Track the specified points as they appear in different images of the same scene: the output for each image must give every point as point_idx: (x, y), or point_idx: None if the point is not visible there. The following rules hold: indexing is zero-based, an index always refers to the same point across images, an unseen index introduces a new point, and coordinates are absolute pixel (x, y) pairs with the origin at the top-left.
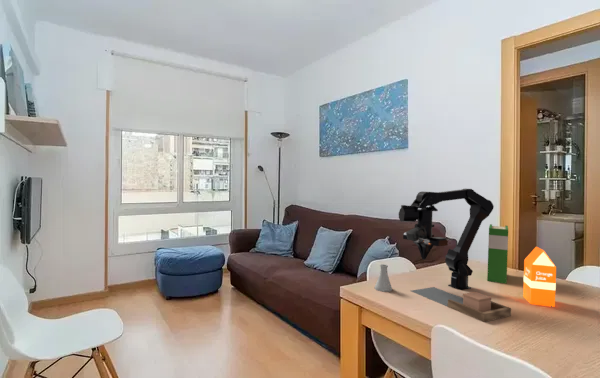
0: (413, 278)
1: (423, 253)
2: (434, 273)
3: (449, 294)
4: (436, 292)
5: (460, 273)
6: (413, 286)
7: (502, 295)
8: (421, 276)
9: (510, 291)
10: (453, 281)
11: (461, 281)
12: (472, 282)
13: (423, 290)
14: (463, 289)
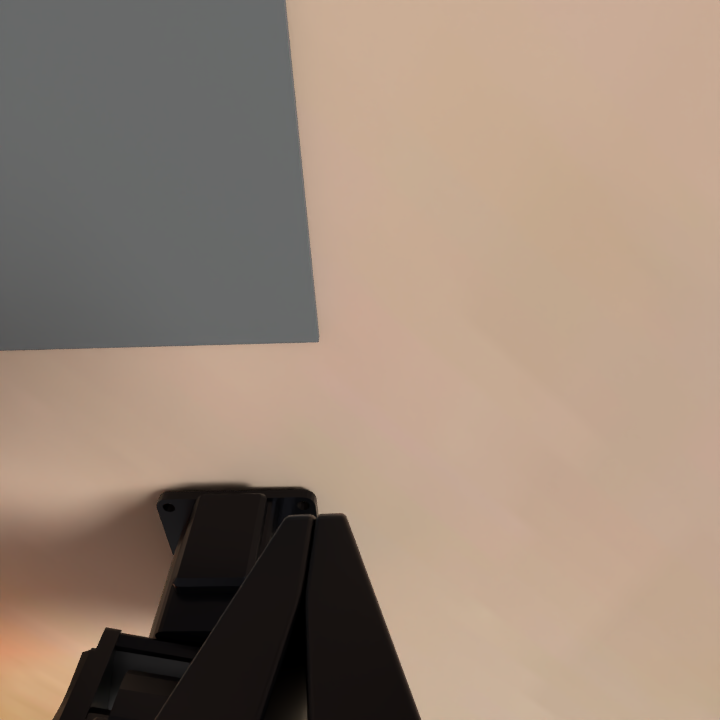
0: (711, 373)
1: (214, 686)
2: (677, 630)
3: (28, 308)
4: (115, 220)
5: (97, 651)
6: (462, 127)
7: (16, 637)
8: (698, 491)
9: None
10: (218, 539)
11: (167, 582)
12: None
13: (226, 109)
14: (163, 521)
